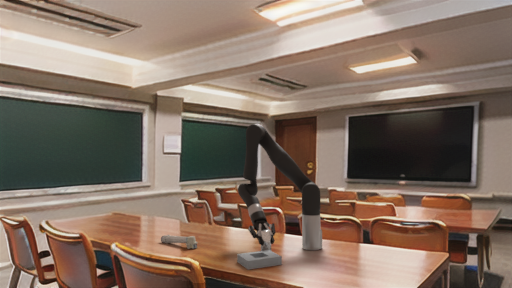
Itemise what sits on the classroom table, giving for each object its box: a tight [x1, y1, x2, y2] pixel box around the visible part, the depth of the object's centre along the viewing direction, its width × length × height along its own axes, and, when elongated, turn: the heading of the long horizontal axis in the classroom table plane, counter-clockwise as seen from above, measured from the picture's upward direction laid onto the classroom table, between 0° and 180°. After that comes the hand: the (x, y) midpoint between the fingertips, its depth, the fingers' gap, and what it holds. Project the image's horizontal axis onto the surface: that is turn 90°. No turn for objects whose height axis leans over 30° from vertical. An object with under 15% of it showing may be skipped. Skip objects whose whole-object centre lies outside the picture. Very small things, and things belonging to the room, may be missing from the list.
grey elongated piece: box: [160, 234, 198, 250], centre depth 188 cm, size 5×7×25 cm
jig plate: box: [236, 250, 283, 270], centre depth 155 cm, size 16×12×4 cm
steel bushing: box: [260, 229, 272, 251], centre depth 170 cm, size 5×5×10 cm
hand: (267, 243), depth 168 cm, fingers closed on steel bushing, 5 cm apart
